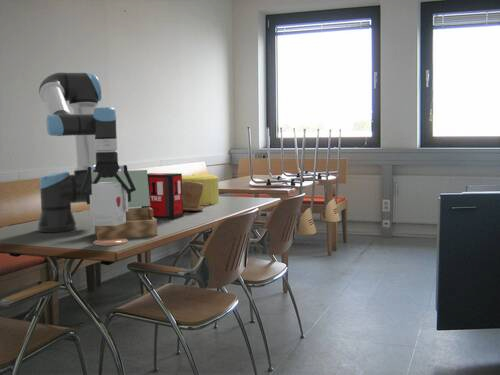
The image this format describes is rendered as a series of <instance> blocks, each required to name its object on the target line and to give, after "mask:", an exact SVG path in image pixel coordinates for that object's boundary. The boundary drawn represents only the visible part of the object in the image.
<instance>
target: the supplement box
mask: <svg viewBox="0 0 500 375" xmlns="http://www.w3.org/2000/svg"><path fill="white" fill-rule="evenodd" d="M91 186H92V208H93V214H92V226H93V227H95V226H117V225H120V224H123V223H125V222H126V212H125V192H124V188H123V186H122V185H121V183H120V182H101V183H97V184H91Z"/></svg>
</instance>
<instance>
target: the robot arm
mask: <svg viewBox="0 0 500 375" xmlns="http://www.w3.org/2000/svg"><path fill="white" fill-rule="evenodd" d="M38 94H39V98H40V99H41V101H42V102H43V103H44V104H45V106H46V110H47V113H48V115H47V116H46V120H45V122H46V132H47V134H48V135H49V136H51V137H52V136H53V137H55V136H57V137H63V136H65V137H66V136H67V137H69V136H75V148H76V151H75V152H76V164H77V166H76V167H75V169H73V174H71V173H70V172H69V171H60V172H55V173H54V172H53V173H49V174H45V175H42V176H41V177H40V179H39V190H40V208H41V211H40V216H39V220H38V223H37V231H38V232H40V233H60V232H61V233H62V232H68V231H69V232H70V231H73V230H76V229H77V221H76V219H75V216H74V214H73V211H72V204H78V203H86V204H87V205H89V213H90V215H93V208H92V186H91V184H97V183H98V181H99V180H100V178H101V177H102V178H107V177H110V178H112V177H115V178H116V179H117V180H118V182H120V183H121V185H122V186H123V188H124V189H125V190H126V191H127V193H125V211H126V212H128V209H129V207H128V202H131V192H133V191H135V190H136V189H135V186H134V184H133V182H132V180H131V178H130V176H129V173H128V171H129V170H128V166H127V165H126V164H123V165H119V160H118V159H119V158H118V157H119V156H118V151H117V150H118V138H117V114H116V109H115V108H114V107H110V106H109V107H103V106H102V107H98V106H99V102H100V101H102V88H101V82H100V80H99V78H98V76H97V75H96V74H95V73H91V72H90V73H89V72H55V73H52V74H50V75H47V77H45V78H44V79H43V80H42V81H41V82H40V85H39V88H38ZM67 102H68V103H67ZM68 104H69V106H68ZM69 107H70V108H71V109H72V110H73V114H72V113H71V111H70V109H69ZM118 171H124V174H125V176H126V178H127V181H128V183H129V185H130V187H131V188H130V189H129V188H128V187H127V186H126V184H125V183H124V182H123V181H122V179H121V178H120V177H119V176H118V174H117V172H118ZM92 172H98V175H97V177H96V178H95V180H94V181H93V183H92V175H91V173H92Z"/></svg>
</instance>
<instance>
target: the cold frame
mask: <svg viewBox="0 0 500 375" xmlns="http://www.w3.org/2000/svg"><path fill="white" fill-rule="evenodd" d="M125 212H126V211H125ZM94 234H95V236H96V240H99V239H105V238H125V239H127V238H129V239H130V238H131V237H132V238H143V236H145V237H156V236H155V235H157V236H158V219H155V218H154V217H153V209H152V208H151V207H148V208H141V207H130V208H128V212H126V222H125V223H123V224H120V225H117V226H94Z"/></svg>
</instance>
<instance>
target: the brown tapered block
mask: <svg viewBox="0 0 500 375" xmlns="http://www.w3.org/2000/svg"><path fill="white" fill-rule="evenodd" d="M202 191H203V184H202V183H197V182H189V181H184V182H183V183H182V195H183V212H198V211H203V210H204V206H200V204H199V201H200V198H201V195H202Z"/></svg>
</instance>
